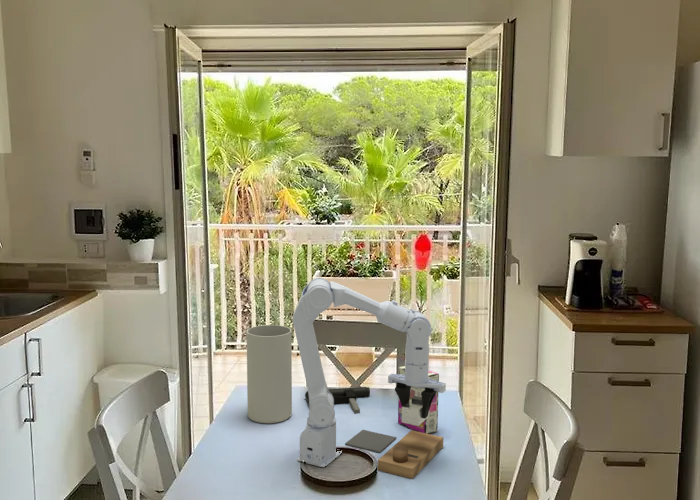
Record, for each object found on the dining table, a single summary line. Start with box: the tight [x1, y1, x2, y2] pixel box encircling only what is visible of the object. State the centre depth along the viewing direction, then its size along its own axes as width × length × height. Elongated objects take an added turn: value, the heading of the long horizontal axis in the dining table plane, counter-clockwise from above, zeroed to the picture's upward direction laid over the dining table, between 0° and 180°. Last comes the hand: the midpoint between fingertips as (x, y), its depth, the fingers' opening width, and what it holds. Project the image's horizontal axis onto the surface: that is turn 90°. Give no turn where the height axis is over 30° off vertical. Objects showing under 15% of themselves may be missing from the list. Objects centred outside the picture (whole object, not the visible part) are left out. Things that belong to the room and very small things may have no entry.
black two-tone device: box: [304, 386, 371, 414], centre depth 203 cm, size 3×20×16 cm
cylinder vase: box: [246, 324, 293, 424], centre depth 192 cm, size 12×12×25 cm
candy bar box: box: [397, 365, 440, 435], centre depth 185 cm, size 11×5×16 cm, turn 39°
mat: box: [344, 429, 397, 454], centre depth 177 cm, size 10×10×1 cm
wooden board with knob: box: [377, 429, 444, 480], centre depth 167 cm, size 20×9×5 cm, turn 152°
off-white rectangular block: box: [402, 396, 430, 426], centre depth 168 cm, size 7×4×5 cm, turn 152°
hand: (415, 415), depth 168 cm, fingers closed on off-white rectangular block, 4 cm apart
